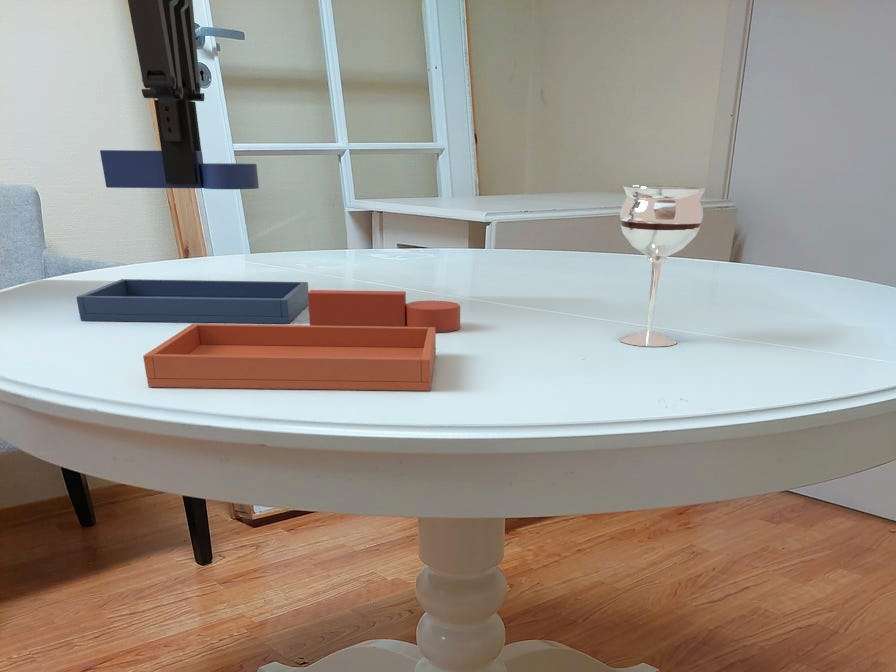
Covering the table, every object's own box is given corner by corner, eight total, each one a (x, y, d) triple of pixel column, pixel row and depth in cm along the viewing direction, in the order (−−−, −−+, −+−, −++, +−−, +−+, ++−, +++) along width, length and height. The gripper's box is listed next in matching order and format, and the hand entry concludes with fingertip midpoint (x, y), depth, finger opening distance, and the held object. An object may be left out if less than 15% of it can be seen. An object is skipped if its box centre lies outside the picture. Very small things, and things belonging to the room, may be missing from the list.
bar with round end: (307, 330, 79) (304, 295, 78) (315, 321, 84) (313, 287, 82) (460, 333, 79) (460, 297, 78) (460, 323, 84) (460, 289, 82)
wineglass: (695, 338, 79) (715, 187, 73) (675, 351, 74) (695, 190, 68) (623, 331, 82) (636, 184, 76) (598, 343, 76) (610, 187, 70)
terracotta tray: (148, 387, 60) (142, 355, 59) (195, 351, 71) (192, 323, 70) (430, 391, 61) (429, 359, 60) (435, 354, 71) (435, 327, 70)
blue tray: (80, 320, 82) (75, 296, 81) (125, 300, 92) (121, 279, 91) (289, 323, 82) (287, 299, 81) (309, 303, 93) (307, 281, 92)
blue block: (99, 188, 79) (92, 150, 78) (118, 186, 84) (112, 150, 82) (252, 189, 80) (248, 151, 78) (263, 187, 84) (260, 151, 83)
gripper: (160, -181, 64) (206, 187, 75) (212, -126, 77) (244, 181, 88) (55, -183, 64) (117, 186, 75) (125, -127, 76) (168, 180, 88)
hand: (186, 182), depth 82 cm, fingers closed on blue block, 2 cm apart
